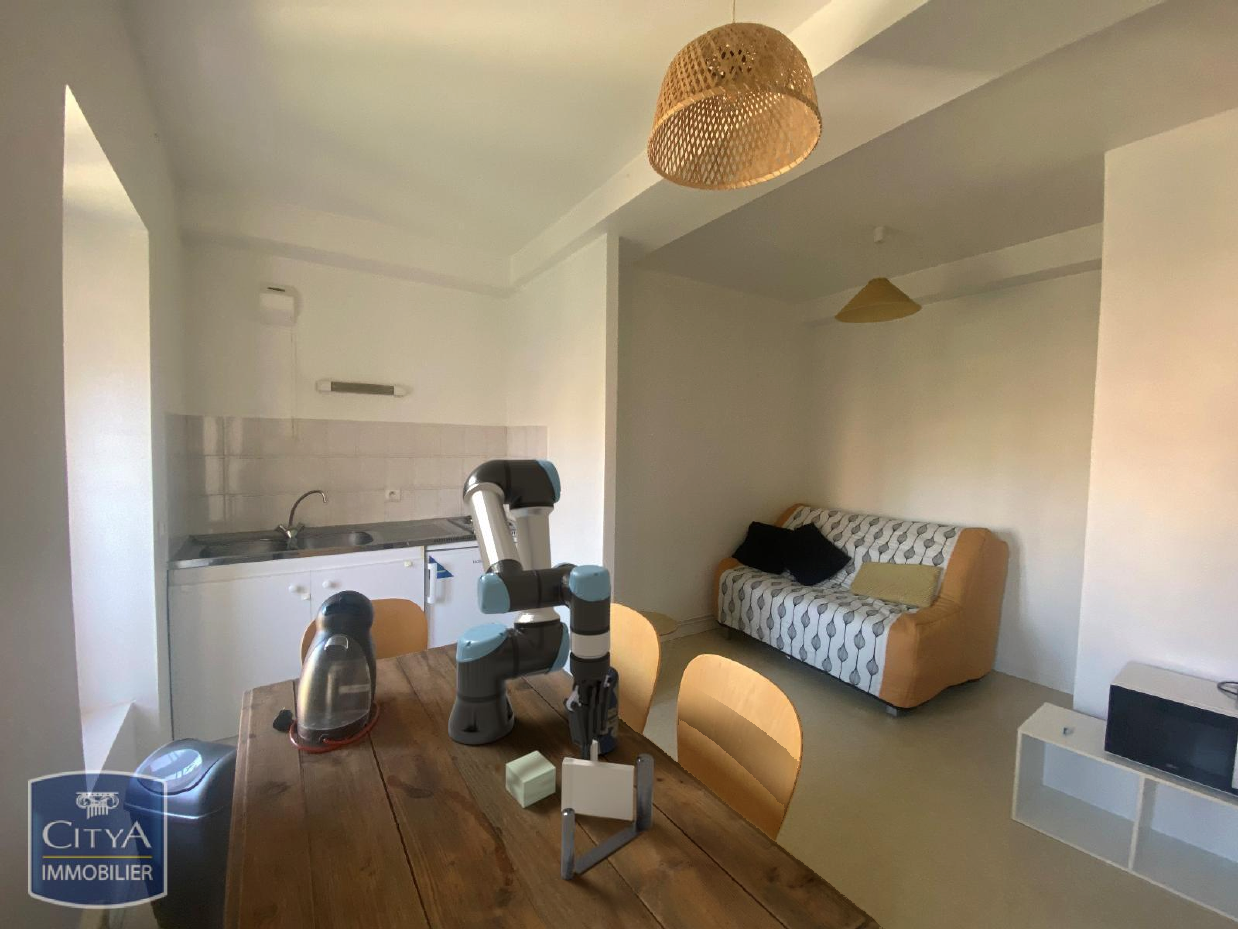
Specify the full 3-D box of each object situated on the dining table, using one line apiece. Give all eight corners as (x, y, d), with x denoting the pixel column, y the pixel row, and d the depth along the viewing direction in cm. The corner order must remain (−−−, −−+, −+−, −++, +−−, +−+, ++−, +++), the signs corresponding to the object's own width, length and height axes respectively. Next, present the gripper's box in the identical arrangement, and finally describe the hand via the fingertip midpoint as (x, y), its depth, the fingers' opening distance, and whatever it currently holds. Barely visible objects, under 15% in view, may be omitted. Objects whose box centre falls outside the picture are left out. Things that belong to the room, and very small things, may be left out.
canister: (612, 761, 107) (614, 678, 107) (570, 754, 109) (571, 673, 108) (621, 736, 117) (623, 660, 116) (582, 730, 118) (583, 655, 118)
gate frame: (556, 871, 79) (558, 797, 79) (644, 815, 92) (645, 751, 91) (567, 884, 77) (569, 808, 76) (655, 825, 89) (657, 759, 89)
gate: (633, 814, 91) (634, 765, 90) (632, 821, 89) (633, 771, 88) (563, 804, 93) (564, 757, 92) (561, 811, 91) (562, 763, 90)
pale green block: (505, 789, 98) (505, 764, 98) (536, 774, 103) (536, 750, 103) (523, 809, 93) (523, 782, 93) (555, 792, 97) (555, 767, 97)
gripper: (594, 635, 100) (594, 750, 101) (551, 658, 89) (551, 786, 90) (625, 644, 96) (625, 763, 97) (584, 668, 85) (584, 803, 86)
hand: (589, 774), depth 94 cm, fingers closed
